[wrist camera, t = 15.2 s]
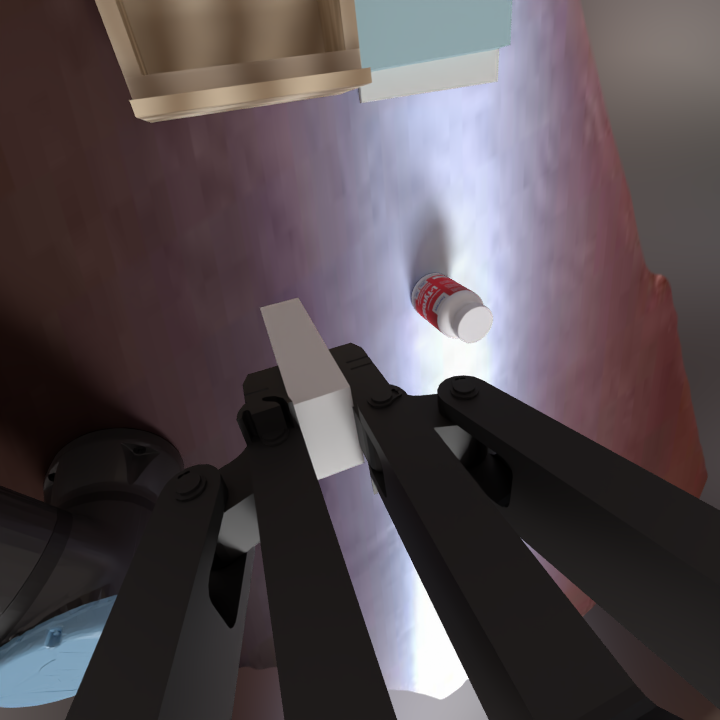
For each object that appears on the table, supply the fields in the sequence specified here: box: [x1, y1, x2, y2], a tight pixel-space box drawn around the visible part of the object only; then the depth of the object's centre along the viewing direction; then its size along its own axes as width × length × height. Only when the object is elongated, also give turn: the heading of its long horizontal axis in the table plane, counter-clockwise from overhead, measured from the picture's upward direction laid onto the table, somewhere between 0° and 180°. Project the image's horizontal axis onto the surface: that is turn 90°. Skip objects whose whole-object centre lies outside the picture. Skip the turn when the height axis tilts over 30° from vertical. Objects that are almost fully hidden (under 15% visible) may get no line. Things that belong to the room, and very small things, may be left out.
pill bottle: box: [411, 273, 493, 343], centre depth 48 cm, size 6×6×11 cm
